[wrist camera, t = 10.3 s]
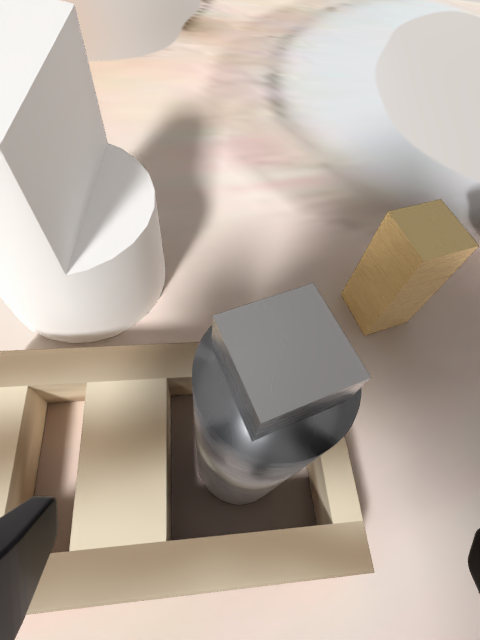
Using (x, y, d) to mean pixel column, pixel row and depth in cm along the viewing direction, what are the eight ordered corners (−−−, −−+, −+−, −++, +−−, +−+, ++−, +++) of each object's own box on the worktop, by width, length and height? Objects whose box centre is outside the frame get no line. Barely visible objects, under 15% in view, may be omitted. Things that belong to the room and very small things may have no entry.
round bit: (294, 482, 18) (428, 399, 7) (215, 519, 17) (237, 486, 6) (259, 405, 20) (326, 247, 9) (185, 435, 19) (163, 296, 8)
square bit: (407, 322, 23) (479, 245, 17) (364, 335, 23) (423, 261, 17) (382, 282, 25) (440, 198, 19) (340, 294, 24) (387, 211, 18)
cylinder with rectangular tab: (34, 213, 25) (-86, -18, 15) (174, 225, 26) (154, 10, 15) (-16, 337, 21) (-240, 131, 10) (154, 348, 21) (107, 164, 11)
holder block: (352, 568, 17) (374, 572, 15) (-46, 615, 15) (-89, 628, 13) (310, 356, 22) (323, 336, 19) (6, 372, 20) (-18, 351, 18)
